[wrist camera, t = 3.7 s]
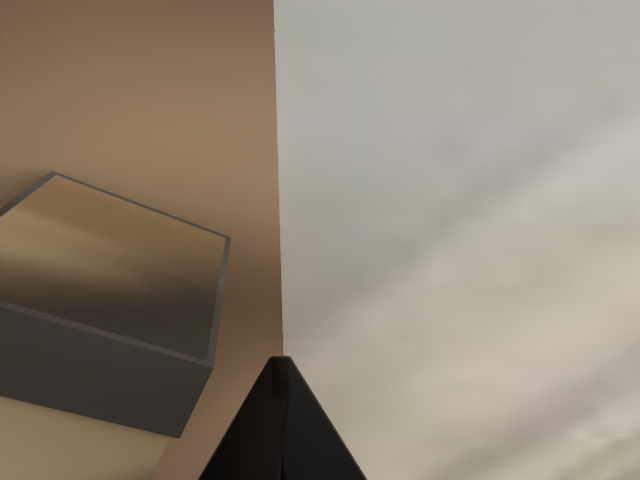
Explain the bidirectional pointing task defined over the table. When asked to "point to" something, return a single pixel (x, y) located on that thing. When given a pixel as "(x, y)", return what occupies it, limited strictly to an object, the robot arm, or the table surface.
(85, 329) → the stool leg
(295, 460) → the robot arm
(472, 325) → the table surface
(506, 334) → the table surface
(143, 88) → the brown wooden block
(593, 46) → the table surface
